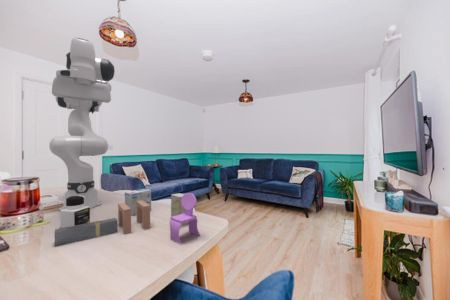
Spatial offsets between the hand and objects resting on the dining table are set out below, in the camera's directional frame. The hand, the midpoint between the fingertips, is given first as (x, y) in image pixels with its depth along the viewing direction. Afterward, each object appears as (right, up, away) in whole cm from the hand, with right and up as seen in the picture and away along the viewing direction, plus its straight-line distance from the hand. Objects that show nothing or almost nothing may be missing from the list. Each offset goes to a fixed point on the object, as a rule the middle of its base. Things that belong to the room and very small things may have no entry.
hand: (83, 110), depth 84 cm
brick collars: (+23, -48, -4) cm, 53 cm away
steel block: (+11, -48, -14) cm, 51 cm away
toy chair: (+46, -48, -15) cm, 68 cm away
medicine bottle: (-2, -48, -2) cm, 48 cm away
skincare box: (+41, -48, -2) cm, 63 cm away
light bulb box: (+17, -48, +15) cm, 53 cm away
